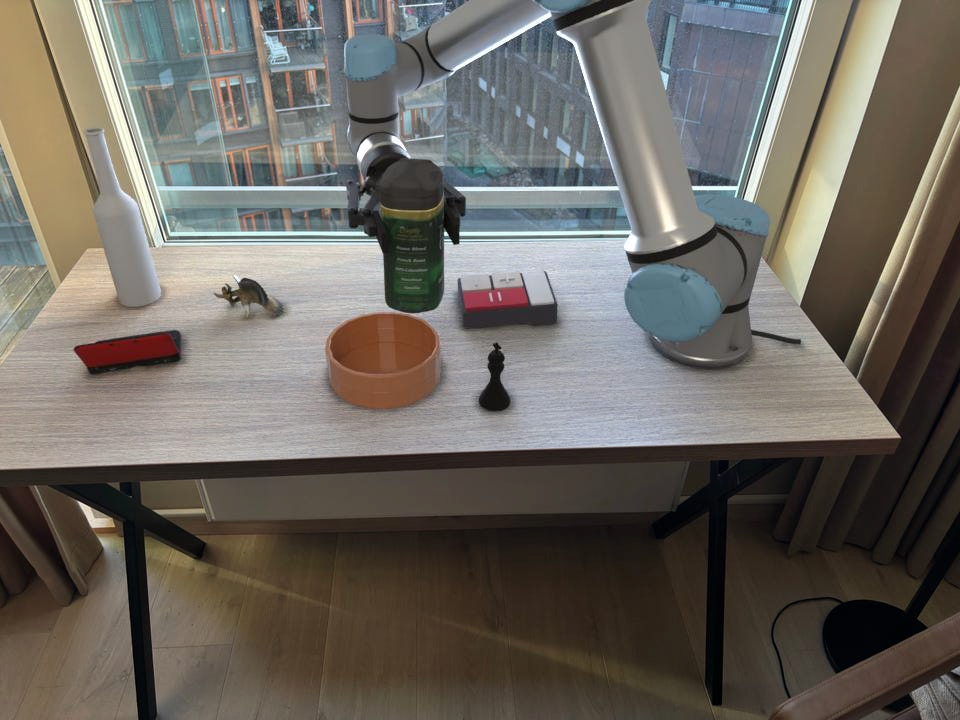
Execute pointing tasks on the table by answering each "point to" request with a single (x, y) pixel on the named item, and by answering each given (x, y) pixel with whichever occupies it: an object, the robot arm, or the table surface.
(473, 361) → the table surface
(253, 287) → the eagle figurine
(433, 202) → the coffee jar
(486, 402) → the chess piece
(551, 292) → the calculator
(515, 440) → the table surface
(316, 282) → the table surface
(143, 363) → the handheld console
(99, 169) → the bottle
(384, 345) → the pot
